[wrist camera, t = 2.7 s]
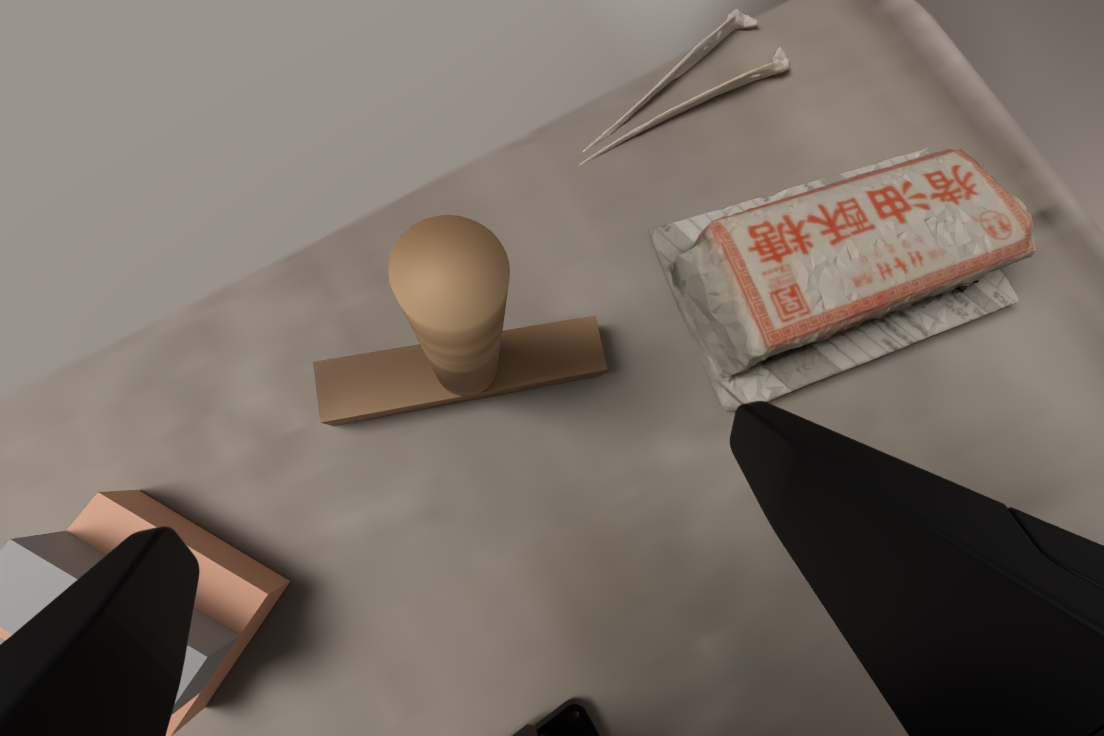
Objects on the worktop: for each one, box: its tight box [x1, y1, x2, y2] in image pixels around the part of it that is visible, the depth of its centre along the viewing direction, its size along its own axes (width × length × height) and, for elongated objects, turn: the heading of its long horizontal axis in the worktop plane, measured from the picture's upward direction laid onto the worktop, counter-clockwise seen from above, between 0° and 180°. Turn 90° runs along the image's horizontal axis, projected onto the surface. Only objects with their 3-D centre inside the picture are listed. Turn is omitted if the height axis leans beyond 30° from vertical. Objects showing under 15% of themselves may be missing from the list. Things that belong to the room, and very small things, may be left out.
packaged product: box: [649, 148, 1037, 411], centre depth 23 cm, size 18×5×10 cm
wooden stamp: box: [313, 215, 608, 426], centre depth 16 cm, size 3×12×12 cm, turn 102°
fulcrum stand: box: [0, 490, 290, 736], centre depth 16 cm, size 7×5×4 cm
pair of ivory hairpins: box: [578, 9, 789, 166], centre depth 26 cm, size 17×5×2 cm, turn 129°
